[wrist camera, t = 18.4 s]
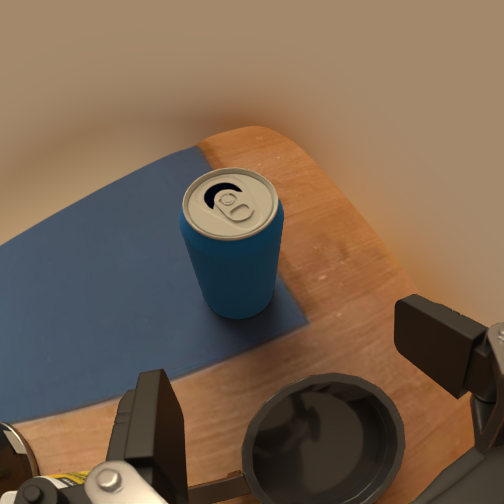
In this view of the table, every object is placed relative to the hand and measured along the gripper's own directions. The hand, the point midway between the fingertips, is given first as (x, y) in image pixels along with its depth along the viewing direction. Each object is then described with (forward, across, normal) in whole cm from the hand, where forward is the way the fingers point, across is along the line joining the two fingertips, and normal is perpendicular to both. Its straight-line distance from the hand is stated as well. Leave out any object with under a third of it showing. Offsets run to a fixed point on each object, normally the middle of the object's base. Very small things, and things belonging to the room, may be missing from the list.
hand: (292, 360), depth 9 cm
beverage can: (+18, 0, +4) cm, 19 cm away
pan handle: (+6, +6, +15) cm, 18 cm away
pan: (+7, -3, +15) cm, 16 cm away
